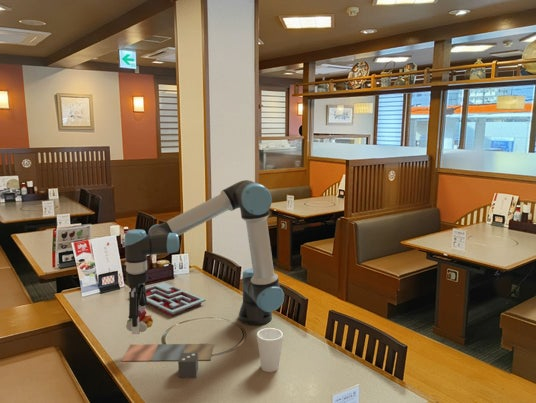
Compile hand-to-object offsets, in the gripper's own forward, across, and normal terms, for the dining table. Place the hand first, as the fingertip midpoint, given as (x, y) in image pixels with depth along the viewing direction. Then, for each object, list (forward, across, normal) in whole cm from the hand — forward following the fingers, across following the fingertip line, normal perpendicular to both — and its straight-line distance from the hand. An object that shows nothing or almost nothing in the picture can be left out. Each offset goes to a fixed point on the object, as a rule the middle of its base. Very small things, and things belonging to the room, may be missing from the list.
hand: (139, 327), depth 164 cm
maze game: (+11, -50, +1) cm, 51 cm away
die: (+10, +14, +21) cm, 27 cm away
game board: (+10, 0, +11) cm, 15 cm away
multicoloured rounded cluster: (0, 0, 0) cm, 1 cm away
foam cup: (+10, +11, +50) cm, 52 cm away
